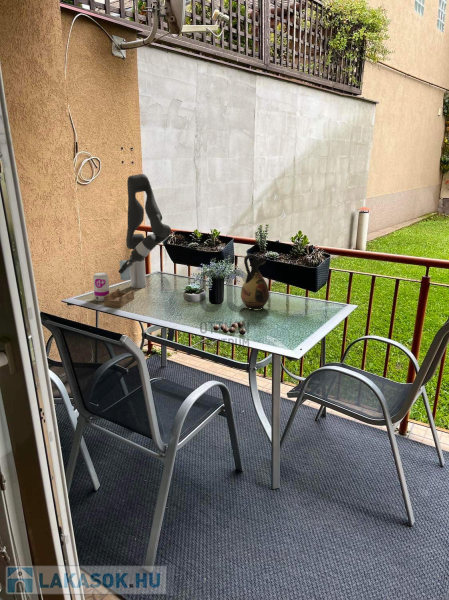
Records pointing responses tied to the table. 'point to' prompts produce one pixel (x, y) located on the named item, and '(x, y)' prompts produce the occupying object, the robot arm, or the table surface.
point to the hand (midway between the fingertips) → (122, 271)
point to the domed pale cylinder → (126, 273)
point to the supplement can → (101, 285)
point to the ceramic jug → (254, 285)
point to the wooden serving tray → (118, 298)
